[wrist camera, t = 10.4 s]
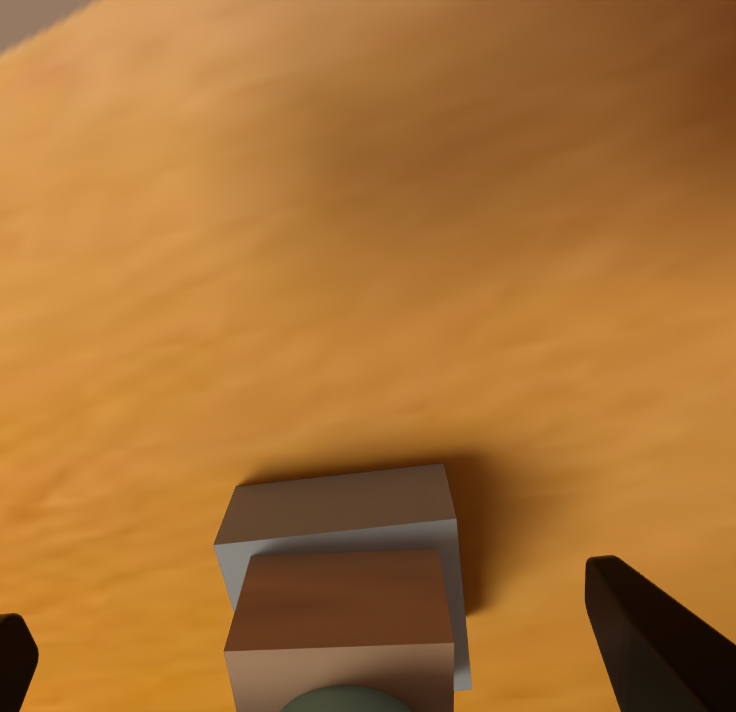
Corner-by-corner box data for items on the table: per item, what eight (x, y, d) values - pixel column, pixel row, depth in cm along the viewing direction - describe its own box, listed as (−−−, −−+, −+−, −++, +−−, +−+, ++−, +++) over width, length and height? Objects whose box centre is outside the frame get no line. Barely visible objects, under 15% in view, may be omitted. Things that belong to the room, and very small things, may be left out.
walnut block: (439, 679, 22) (452, 786, 19) (273, 685, 23) (254, 792, 19) (438, 548, 20) (453, 642, 16) (250, 555, 20) (223, 651, 16)
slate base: (457, 612, 26) (472, 689, 23) (278, 629, 27) (263, 708, 23) (442, 457, 23) (456, 518, 19) (237, 481, 24) (213, 545, 20)
